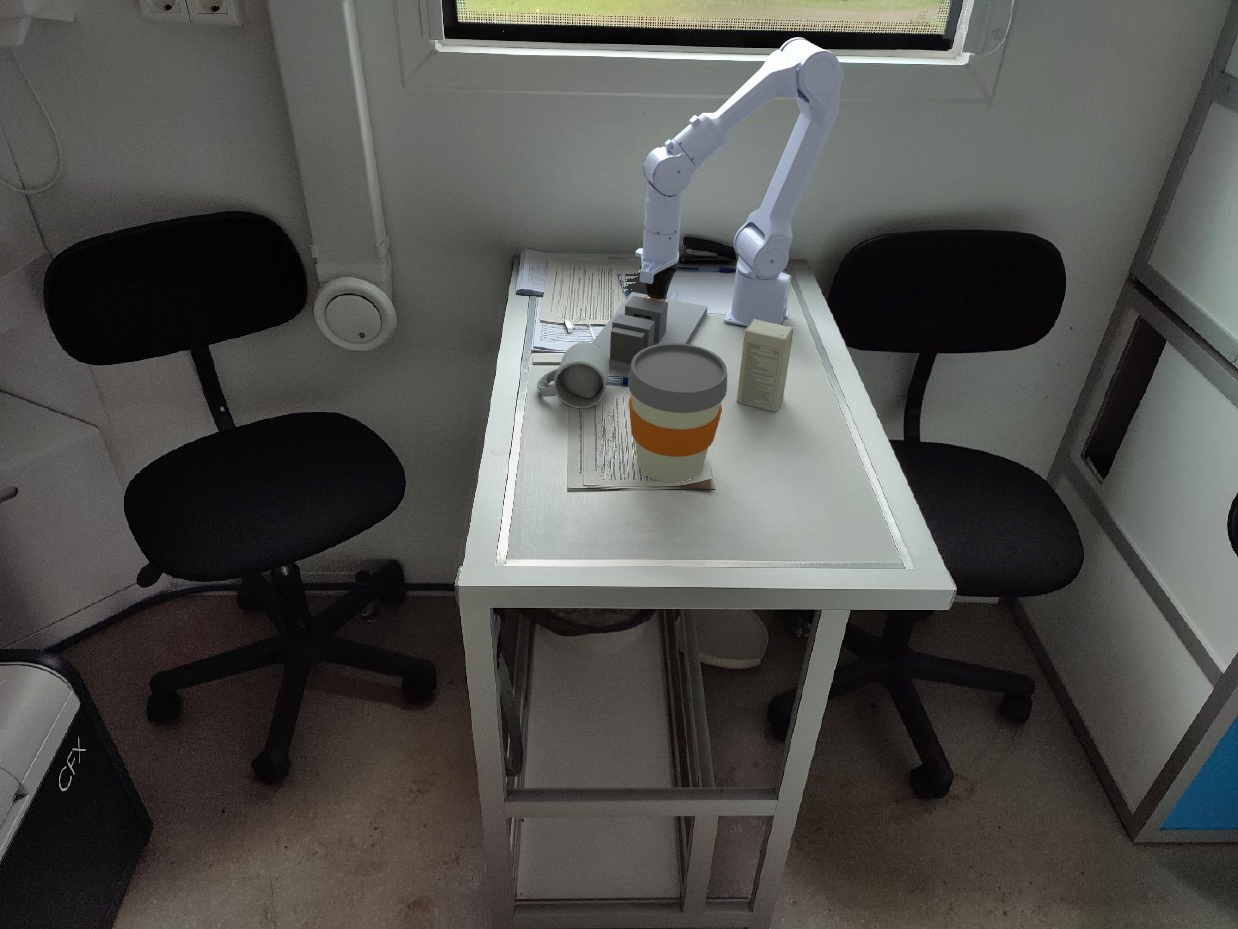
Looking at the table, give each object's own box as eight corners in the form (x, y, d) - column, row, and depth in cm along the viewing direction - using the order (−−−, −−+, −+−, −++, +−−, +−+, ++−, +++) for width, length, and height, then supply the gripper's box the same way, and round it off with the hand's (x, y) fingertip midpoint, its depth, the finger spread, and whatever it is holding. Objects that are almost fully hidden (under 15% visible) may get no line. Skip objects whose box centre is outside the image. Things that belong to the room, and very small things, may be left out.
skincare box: (783, 399, 130) (796, 326, 122) (775, 413, 127) (788, 340, 119) (743, 388, 132) (753, 316, 124) (734, 401, 129) (744, 329, 121)
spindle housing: (706, 314, 151) (710, 277, 147) (667, 380, 133) (670, 340, 128) (631, 299, 154) (633, 263, 150) (582, 362, 136) (583, 322, 132)
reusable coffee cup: (605, 455, 117) (608, 359, 108) (675, 425, 123) (684, 332, 114) (663, 503, 109) (673, 405, 100) (735, 469, 115) (750, 373, 106)
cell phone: (653, 272, 165) (654, 268, 164) (668, 305, 154) (669, 301, 154) (616, 273, 164) (616, 269, 163) (628, 306, 153) (629, 302, 152)
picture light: (600, 348, 141) (600, 337, 140) (574, 351, 140) (574, 340, 139) (582, 309, 152) (582, 298, 150) (558, 311, 151) (558, 300, 149)
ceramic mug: (610, 381, 132) (610, 337, 127) (605, 410, 125) (606, 365, 121) (541, 377, 132) (540, 333, 128) (533, 406, 126) (531, 361, 121)
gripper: (652, 208, 142) (647, 284, 151) (623, 240, 131) (619, 319, 140) (692, 215, 141) (685, 291, 149) (667, 248, 130) (660, 328, 138)
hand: (656, 305), depth 144 cm, fingers closed
